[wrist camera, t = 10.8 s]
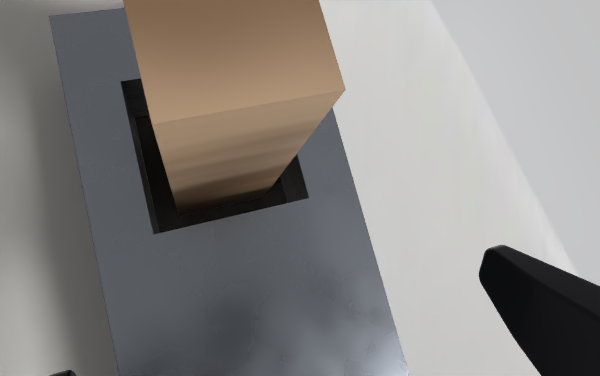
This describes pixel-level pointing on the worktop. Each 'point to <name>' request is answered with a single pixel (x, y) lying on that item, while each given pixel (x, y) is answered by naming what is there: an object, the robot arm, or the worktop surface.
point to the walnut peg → (232, 90)
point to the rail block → (220, 244)
